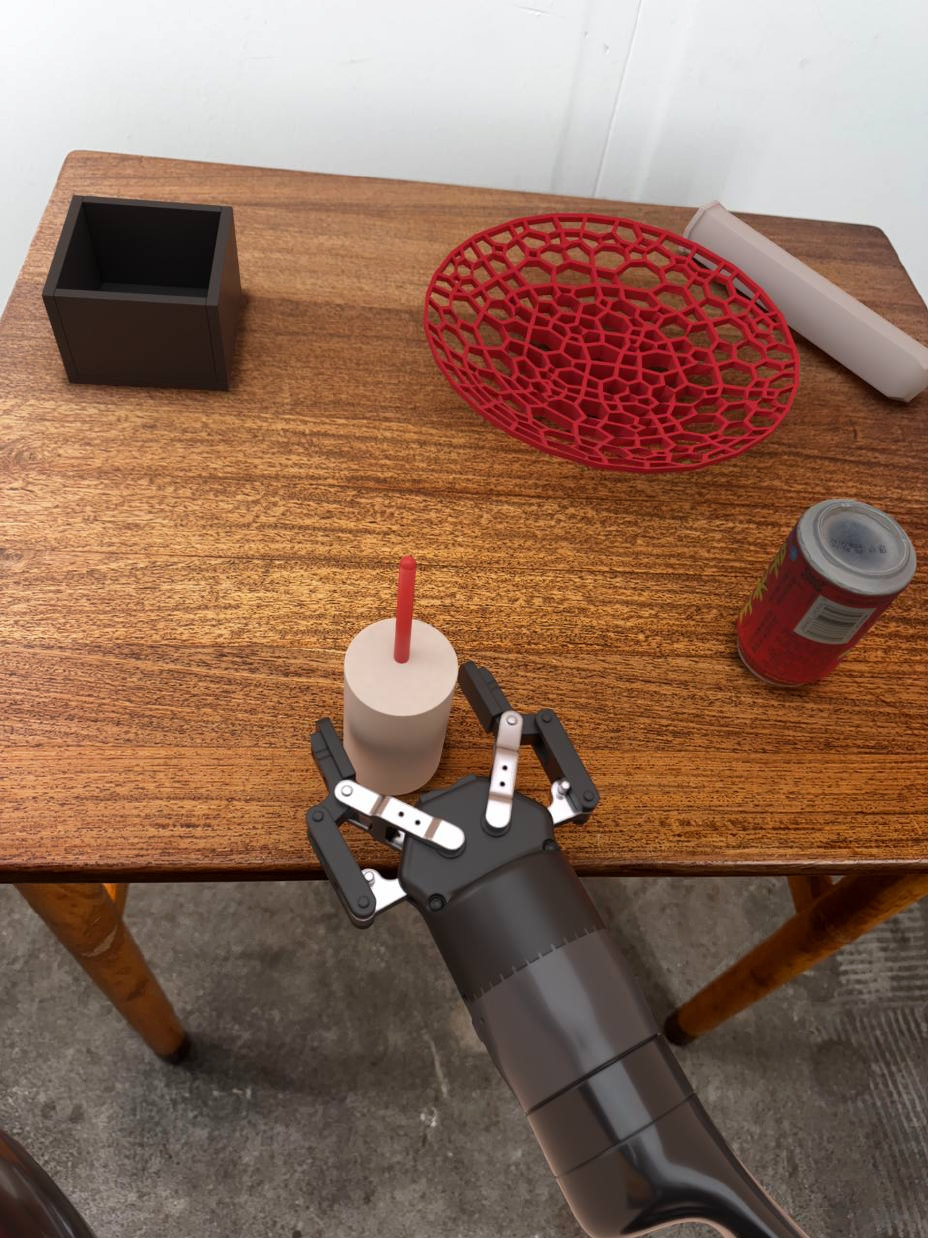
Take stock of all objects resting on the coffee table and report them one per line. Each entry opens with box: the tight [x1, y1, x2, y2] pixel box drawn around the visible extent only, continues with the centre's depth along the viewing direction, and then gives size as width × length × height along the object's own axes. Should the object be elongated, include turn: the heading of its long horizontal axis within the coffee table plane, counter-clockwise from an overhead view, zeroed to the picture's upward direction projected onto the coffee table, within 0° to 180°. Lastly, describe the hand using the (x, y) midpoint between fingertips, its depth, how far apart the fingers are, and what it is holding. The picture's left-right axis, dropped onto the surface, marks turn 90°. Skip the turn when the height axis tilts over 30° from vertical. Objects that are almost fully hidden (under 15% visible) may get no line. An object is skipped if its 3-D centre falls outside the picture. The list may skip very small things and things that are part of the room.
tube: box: [678, 199, 928, 403], centre depth 80 cm, size 5×5×25 cm
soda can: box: [736, 498, 918, 688], centre depth 57 cm, size 7×7×12 cm
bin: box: [40, 194, 243, 392], centre depth 69 cm, size 12×12×8 cm
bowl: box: [422, 212, 801, 475], centre depth 73 cm, size 29×30×5 cm
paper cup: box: [342, 555, 459, 796], centre depth 48 cm, size 6×6×16 cm
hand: (394, 696), depth 50 cm, fingers open, 8 cm apart
